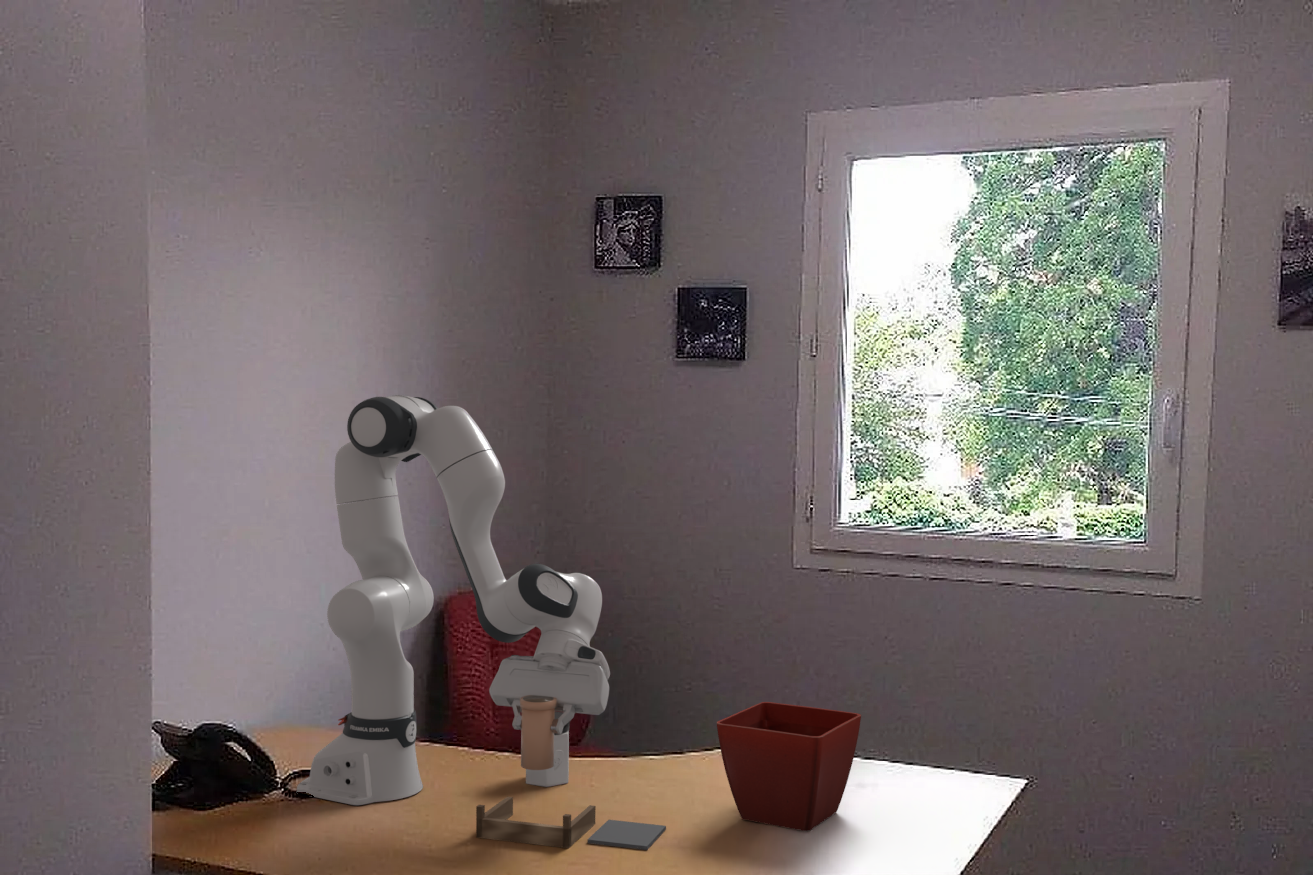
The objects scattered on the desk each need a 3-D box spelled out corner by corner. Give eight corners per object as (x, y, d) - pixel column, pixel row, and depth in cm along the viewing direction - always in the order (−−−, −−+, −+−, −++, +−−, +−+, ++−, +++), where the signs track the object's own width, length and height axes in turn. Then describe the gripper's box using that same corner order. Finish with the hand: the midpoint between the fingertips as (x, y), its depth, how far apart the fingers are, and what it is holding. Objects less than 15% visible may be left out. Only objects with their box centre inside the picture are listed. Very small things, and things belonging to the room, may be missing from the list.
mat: (587, 843, 190) (587, 839, 190) (608, 823, 200) (608, 819, 200) (647, 850, 187) (647, 846, 187) (665, 829, 197) (665, 825, 197)
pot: (513, 768, 195) (514, 701, 195) (527, 758, 201) (528, 693, 201) (547, 772, 193) (548, 704, 193) (561, 762, 199) (562, 696, 199)
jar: (536, 789, 218) (536, 724, 218) (516, 778, 224) (516, 714, 224) (579, 781, 223) (579, 717, 222) (558, 771, 229) (558, 708, 229)
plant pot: (763, 792, 217) (763, 699, 217) (862, 810, 207) (863, 713, 207) (713, 822, 200) (713, 722, 200) (819, 843, 191) (819, 738, 190)
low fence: (476, 837, 193) (476, 806, 193) (507, 814, 204) (507, 784, 204) (568, 848, 188) (568, 816, 188) (595, 823, 199) (595, 793, 199)
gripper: (499, 644, 206) (473, 713, 197) (610, 653, 200) (589, 725, 191) (509, 664, 211) (484, 733, 202) (619, 674, 205) (598, 745, 195)
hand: (536, 729), depth 196 cm, fingers closed on pot, 5 cm apart
